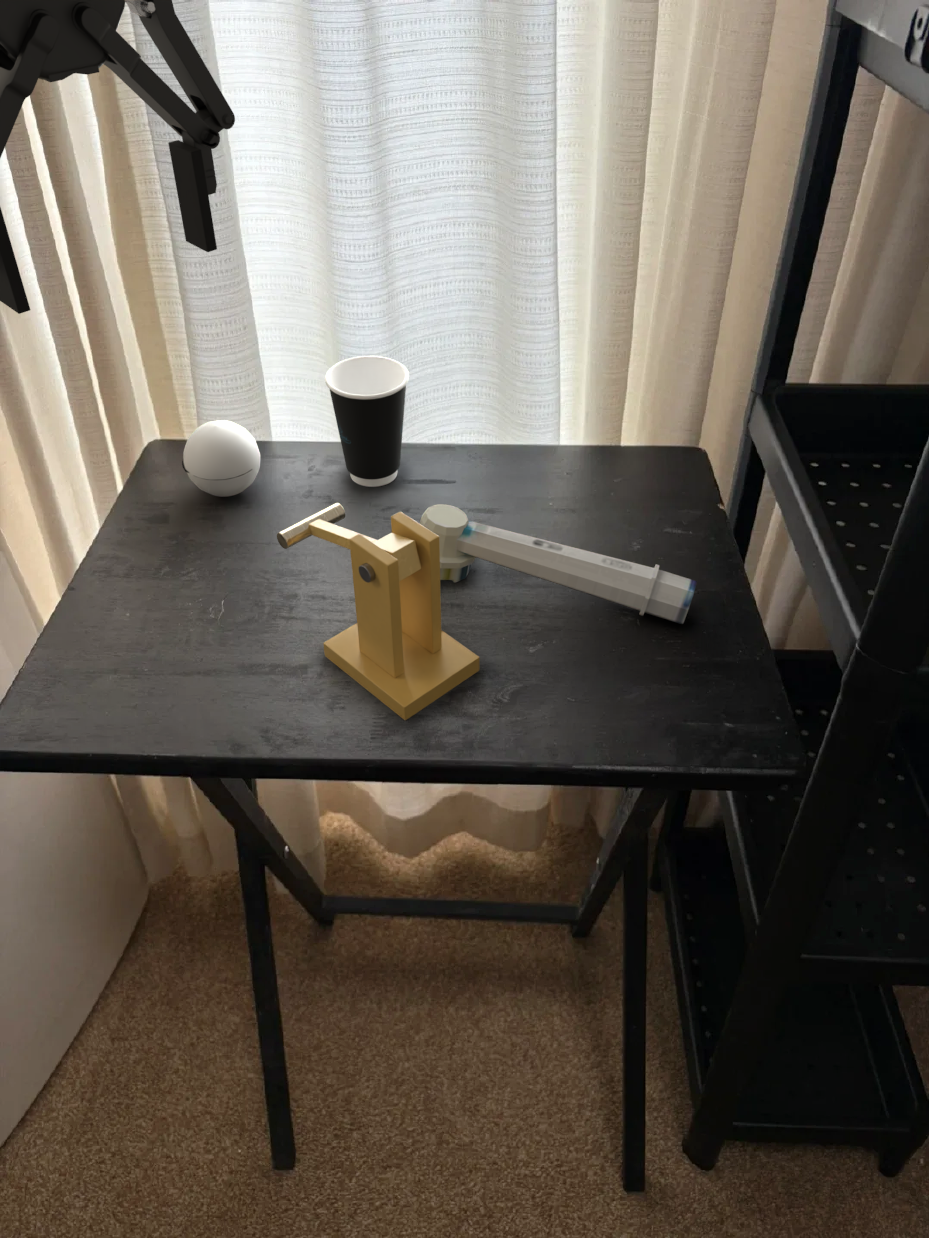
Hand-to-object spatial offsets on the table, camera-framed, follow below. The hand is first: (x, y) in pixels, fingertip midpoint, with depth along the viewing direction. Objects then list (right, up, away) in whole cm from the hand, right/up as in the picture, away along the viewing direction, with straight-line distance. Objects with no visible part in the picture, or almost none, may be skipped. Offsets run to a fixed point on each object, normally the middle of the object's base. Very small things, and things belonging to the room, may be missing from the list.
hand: (113, 274), depth 68 cm
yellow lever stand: (+18, -26, +17) cm, 36 cm away
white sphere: (-1, -11, +34) cm, 36 cm away
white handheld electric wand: (+30, -20, +24) cm, 43 cm away
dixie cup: (+14, -8, +37) cm, 41 cm away
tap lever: (+15, -18, +13) cm, 26 cm away
